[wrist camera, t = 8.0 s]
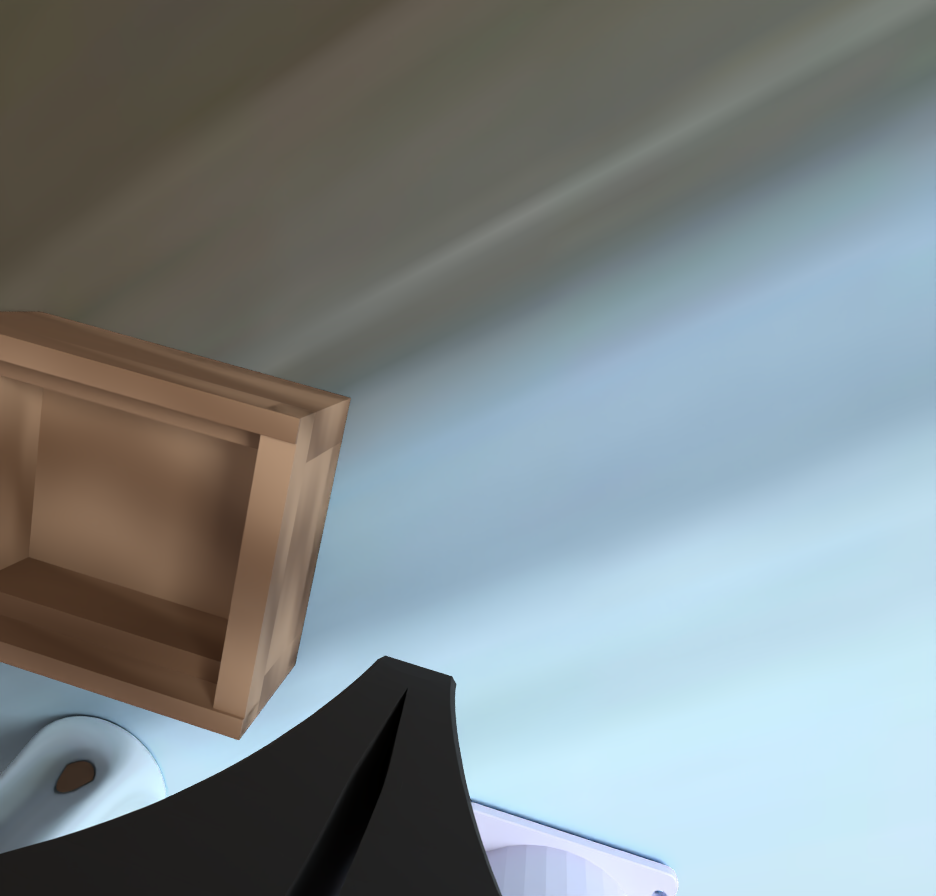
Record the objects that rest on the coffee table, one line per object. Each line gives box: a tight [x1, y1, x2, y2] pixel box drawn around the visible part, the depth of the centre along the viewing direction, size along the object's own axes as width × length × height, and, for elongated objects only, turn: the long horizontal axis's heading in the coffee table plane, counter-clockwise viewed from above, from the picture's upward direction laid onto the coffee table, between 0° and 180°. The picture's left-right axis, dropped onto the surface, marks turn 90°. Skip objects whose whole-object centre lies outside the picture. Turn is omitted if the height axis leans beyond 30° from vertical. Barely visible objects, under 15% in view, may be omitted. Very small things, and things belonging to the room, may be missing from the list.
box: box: [0, 312, 351, 740], centre depth 20 cm, size 10×11×4 cm
